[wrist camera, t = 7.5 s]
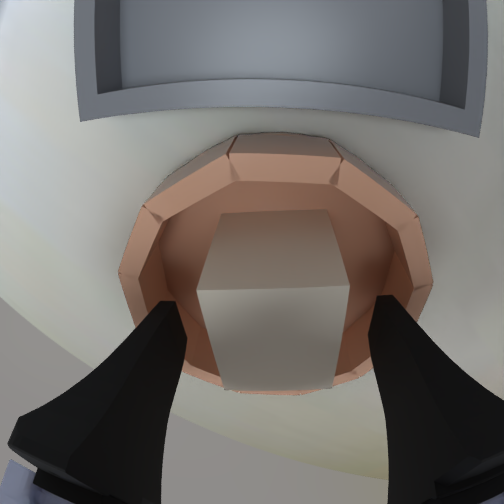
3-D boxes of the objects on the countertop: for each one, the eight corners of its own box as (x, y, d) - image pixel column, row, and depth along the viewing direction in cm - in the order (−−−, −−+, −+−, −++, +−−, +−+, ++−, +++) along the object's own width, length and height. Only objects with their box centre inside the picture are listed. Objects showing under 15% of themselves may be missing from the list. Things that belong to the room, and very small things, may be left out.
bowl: (427, 147, 10) (467, 175, 8) (369, 348, 17) (379, 391, 14) (131, 136, 11) (91, 160, 8) (171, 340, 17) (158, 383, 15)
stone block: (326, 208, 11) (350, 285, 8) (321, 306, 14) (331, 388, 10) (221, 213, 12) (196, 290, 8) (236, 309, 15) (224, 390, 11)
